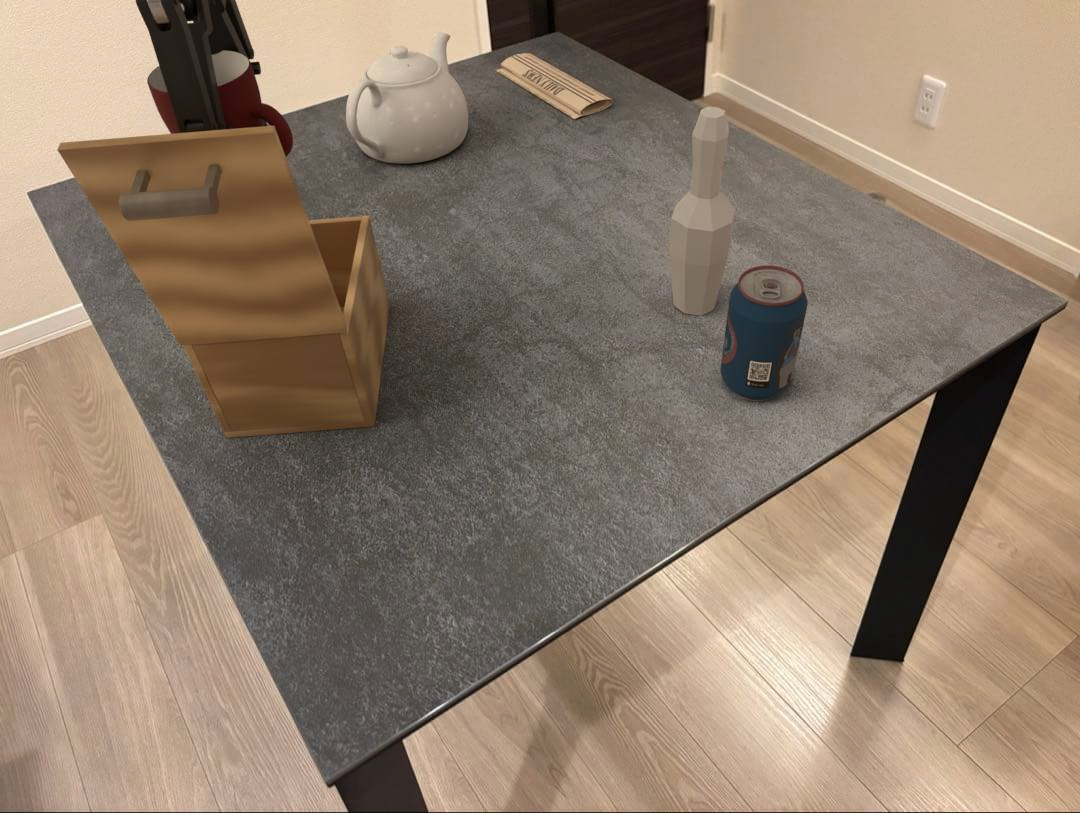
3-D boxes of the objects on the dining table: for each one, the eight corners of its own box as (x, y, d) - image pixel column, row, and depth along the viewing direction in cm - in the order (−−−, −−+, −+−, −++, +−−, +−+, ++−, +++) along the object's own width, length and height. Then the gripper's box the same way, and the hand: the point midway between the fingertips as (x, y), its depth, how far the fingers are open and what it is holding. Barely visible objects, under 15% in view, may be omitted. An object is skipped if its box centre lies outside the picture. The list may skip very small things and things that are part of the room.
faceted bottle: (706, 327, 89) (727, 134, 73) (655, 307, 92) (665, 118, 76) (734, 297, 92) (759, 106, 77) (684, 279, 95) (699, 92, 80)
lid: (59, 142, 56) (38, 191, 53) (274, 125, 56) (264, 173, 53) (182, 339, 73) (170, 385, 70) (347, 326, 73) (342, 371, 70)
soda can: (721, 355, 85) (733, 258, 77) (791, 362, 84) (811, 264, 76) (716, 402, 81) (729, 303, 72) (790, 410, 79) (811, 310, 71)
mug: (324, 161, 74) (294, 49, 67) (292, 210, 69) (257, 94, 62) (215, 159, 76) (174, 49, 69) (175, 206, 70) (127, 93, 63)
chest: (263, 314, 95) (231, 226, 87) (390, 304, 95) (369, 215, 87) (226, 438, 81) (183, 346, 73) (374, 426, 81) (348, 333, 73)
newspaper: (612, 106, 128) (612, 95, 127) (574, 120, 126) (574, 108, 124) (531, 60, 143) (530, 49, 141) (496, 71, 140) (495, 60, 139)
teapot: (343, 127, 128) (321, 37, 119) (457, 105, 132) (446, 15, 122) (360, 183, 116) (338, 87, 106) (487, 157, 119) (477, 62, 109)
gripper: (158, -93, 49) (270, 238, 64) (234, -165, 63) (309, 118, 79) (32, -83, 49) (174, 245, 64) (137, -157, 63) (231, 124, 79)
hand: (249, 175), depth 72 cm, fingers closed on mug, 8 cm apart
